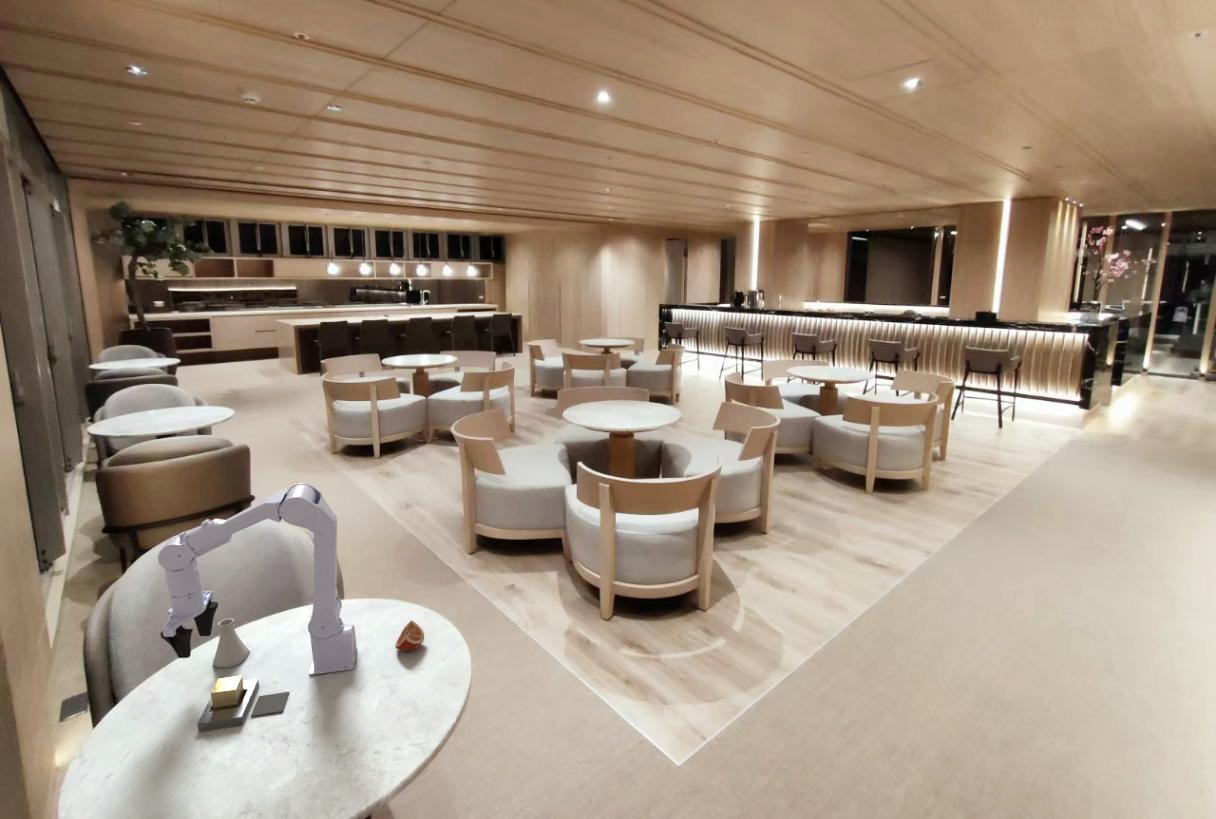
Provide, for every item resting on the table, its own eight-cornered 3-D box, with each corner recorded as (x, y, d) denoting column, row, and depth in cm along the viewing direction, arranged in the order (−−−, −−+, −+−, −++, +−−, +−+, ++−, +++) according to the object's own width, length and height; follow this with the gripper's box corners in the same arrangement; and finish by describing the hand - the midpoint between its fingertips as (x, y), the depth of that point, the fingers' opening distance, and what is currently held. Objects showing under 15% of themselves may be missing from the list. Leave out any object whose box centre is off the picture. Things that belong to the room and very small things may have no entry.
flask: (255, 650, 149) (250, 614, 146) (235, 670, 142) (229, 632, 139) (228, 648, 149) (222, 612, 147) (206, 667, 142) (199, 629, 140)
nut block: (245, 699, 133) (241, 675, 131) (239, 713, 128) (235, 689, 127) (222, 702, 131) (218, 678, 130) (214, 717, 127) (210, 693, 126)
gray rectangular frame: (259, 686, 137) (258, 678, 136) (242, 725, 125) (241, 716, 125) (218, 691, 135) (217, 684, 134) (198, 732, 123) (197, 723, 123)
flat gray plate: (289, 693, 135) (289, 691, 134) (282, 712, 129) (282, 710, 129) (259, 697, 133) (258, 696, 133) (251, 717, 127) (250, 715, 127)
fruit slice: (400, 637, 155) (398, 620, 154) (427, 636, 156) (426, 618, 154) (392, 658, 147) (391, 640, 145) (421, 656, 147) (420, 638, 146)
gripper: (187, 573, 138) (196, 626, 141) (142, 609, 124) (154, 667, 127) (219, 573, 138) (227, 626, 141) (178, 609, 124) (189, 667, 127)
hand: (195, 645), depth 134 cm, fingers open, 7 cm apart
